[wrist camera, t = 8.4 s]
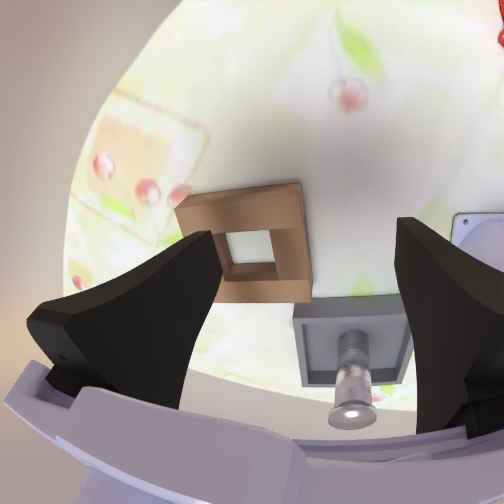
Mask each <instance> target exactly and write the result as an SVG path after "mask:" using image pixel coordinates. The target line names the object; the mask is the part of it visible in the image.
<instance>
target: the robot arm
mask: <svg viewBox="0 0 504 504" xmlns="http://www.w3.org/2000/svg"><path fill="white" fill-rule="evenodd" d="M465 219H467V220H466V222H464V223H463V221H464V220H465ZM394 266H395V272H396V277H397V283H398V287H399V291H400V294H401V298H402V301H403V304H404V308H405V311H406V315H407V318H408V322H409V326H410V330H411V334H412V339H413V344H414V353H415V362H416V376H417V427H416V435H408V436H401V437H391V438H380V439H379V438H378V439H363V440H301V439H290V438H289V437H286V436H283V435H280V434H278V433H275V432H273V431H270V430H267V429H265V428H262V427H259V426H254V425H250V424H245V423H240V422H236V421H231V420H228V419H223V418H217V417H211V416H205V415H200V414H195V413H190V412H185V411H181V410H178V409H179V403H180V398H181V393H182V388H183V384H184V379H185V376H186V372H187V368H188V365H189V361H190V358H191V355H192V351H193V348H194V345H195V342H196V339H197V337H198V334H199V332H200V330H201V328H202V326H203V323H204V321H205V319H206V317H207V315H208V312H209V310H210V308H211V306H212V304H213V301H214V299H215V297H216V295H217V292H218V289H219V286H220V282H221V279H222V275H223V269H222V266H221V262H220V259H219V256H218V253H217V249H216V246H215V243H214V239H213V236H212V233H211V230H205V231H197V232H194V233H192V234H190V235H188V236H186V237H185V238H183V239H181V240H179V241H178V242H176V243H175V244H173V245H172V246H170V247H168V248H167V249H165V250H164V251H162V252H161V253H159V254H157V255H156V256H154V257H152V258H151V259H149V260H147V261H146V262H144V263H142V264H141V265H139V266H137V267H136V268H134V269H132V270H130V271H128V272H126V273H124V274H122V275H120V276H118V277H116V278H114V279H112V280H110V281H107V282H105V283H103V284H100V285H98V286H96V287H93V288H91V289H88V290H85V291H82V292H79V293H76V294H73V295H70V296H67V297H63V298H59V299H55V300H51V301H46V302H43V303H41V304H40V305H39V306H38V307H37V308H36V309H35V310H34V311H33V312H32V314H31V315H30V316H29V317H28V318H27V327H28V330H29V332H30V334H31V336H32V337H33V339H34V340H35V342H36V343H37V344H38V345H39V347H40V348H41V349H42V350H43V352H44V353H45V354H46V355H47V357H48V358H49V359H50V360H51V361H52V363H53V364H55V365H54V366H53V367H52V369H51V370H50V369H49V368H48V367H46V366H45V365H43V364H41V363H39V362H37V361H35V360H31V361H30V363H29V364H28V365H27V367H26V368H25V369H24V371H23V372H22V374H21V375H20V377H19V378H18V379H17V381H16V383H15V384H14V386H13V387H12V388H11V390H10V391H9V393H8V394H7V396H6V397H5V399H4V401H3V402H4V404H5V405H6V406H7V407H8V408H10V409H11V410H12V411H13V412H14V413H15V414H17V415H18V416H19V417H20V418H21V419H22V420H23V421H25V422H26V423H27V424H28V425H29V426H31V427H32V428H33V429H34V430H36V431H37V432H38V433H40V434H41V435H42V436H43V437H45V438H46V439H48V440H49V441H50V442H52V443H53V444H55V445H56V446H57V447H59V448H60V449H62V450H63V451H65V452H67V453H68V454H70V455H71V456H73V457H74V458H76V459H78V460H79V461H81V462H82V463H84V464H86V465H87V466H89V467H90V469H89V471H88V473H87V475H86V477H85V479H84V481H83V483H82V485H81V487H80V490H79V492H78V494H77V496H76V498H75V500H74V502H73V504H490V503H493V502H495V501H498V500H500V499H503V498H504V214H459V215H457V216H456V217H455V218H454V223H453V231H452V237H451V242H449V241H448V240H446V239H445V238H443V237H442V236H440V235H439V234H438V233H436V232H435V231H433V230H432V229H431V228H429V227H428V226H426V225H425V224H423V223H422V222H420V221H419V220H417V219H415V218H414V217H399V218H397V231H396V248H395V261H394Z"/></svg>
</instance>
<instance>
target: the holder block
mask: <svg viewBox="0 0 504 504" xmlns="http://www.w3.org/2000/svg"><path fill="white" fill-rule="evenodd" d="M174 211H175V214H176V217H177V220H178V223H179V226H180V229H181V232H182V235H183V237H184V238H185V237H186V236H188V235H190V234H192V233H194V232H197V231H205V230H211V233H212V236H213V239H214V243H215V246H216V249H217V253H218V256H219V259H220V262H221V266H222V269H223V275H222V279H221V282H220V286H219V289H218V292H217V295H216V297H215V299H214V301H213V303H304V302H311V297H312V286H313V280H312V270H311V260H310V251H309V242H308V234H307V225H306V218H305V210H304V202H303V195H302V188H301V183H290V184H279V185H270V186H261V187H252V188H243V189H235V190H228V191H220V192H213V193H206V194H199V195H192V196H187V197H186V198H185V199H184V200H183V201H182V202H181V203H180V204H179V205H178V206H177V207H176V208H175V209H174ZM256 230H269V232H270V237H271V242H272V248H273V253H274V258H275V262H270V263H246V264H233V262H232V258H231V254H230V251H229V247H228V244H227V240H226V236H225V233H230V232H243V231H256Z"/></svg>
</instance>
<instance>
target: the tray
mask: <svg viewBox="0 0 504 504" xmlns="http://www.w3.org/2000/svg"><path fill="white" fill-rule="evenodd" d="M292 319H293V326H294V332H295V339H296V346H297V353H298V360H299V367H300V374H301V381H302V387H336V370H337V341H338V337H339V336H340V335H341V334H342V333H344V332H346V331H349V330H361V331H363V332H365V333H366V334H367V335H368V337H369V349H370V366H371V386H379V385H393V384H401V383H402V380H403V378H404V375H405V372H406V369H407V366H408V363H409V360H410V357H411V354H412V351H413V348H414V344H413V339H412V334H411V330H410V326H409V322H408V318H407V315H406V311H405V308H404V304H403V301H402V298H401V294H396V295H380V296H361V297H339V298H311V302H304V303H295V306H294V312H293V318H292Z"/></svg>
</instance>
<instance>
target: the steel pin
mask: <svg viewBox="0 0 504 504" xmlns="http://www.w3.org/2000/svg"><path fill="white" fill-rule="evenodd" d="M375 421H376V408H375V407H374V406H373V405H372V395H371V366H370V349H369V337H368V335H367V334H366V333H365V332H363V331H361V330H349V331H346V332H344V333H342V334H341V335H340V336H339V337H338V341H337V370H336V389H335V403H334V408H332V409H331V410H330V412H329V419H328V423H329V424H330V425H331V426H332V427H334V428H337V429H343V430H354V429H361V428H365V427H367V426H370V425H372V424H373V423H374V422H375Z"/></svg>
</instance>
